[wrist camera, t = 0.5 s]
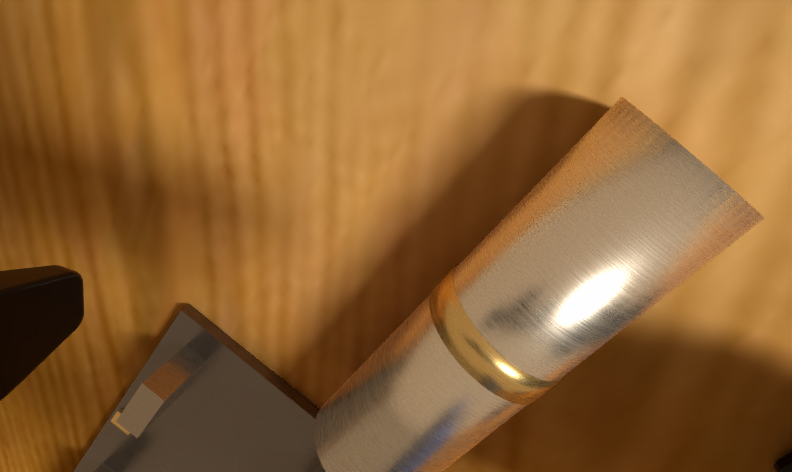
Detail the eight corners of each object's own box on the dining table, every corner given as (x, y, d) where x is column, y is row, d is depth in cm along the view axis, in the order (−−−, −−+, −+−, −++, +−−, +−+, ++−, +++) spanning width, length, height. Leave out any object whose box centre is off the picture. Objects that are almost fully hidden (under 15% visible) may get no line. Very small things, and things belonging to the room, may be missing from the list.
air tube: (728, 190, 17) (797, 245, 12) (426, 443, 24) (398, 540, 19) (610, 89, 17) (636, 105, 12) (341, 372, 24) (291, 452, 19)
